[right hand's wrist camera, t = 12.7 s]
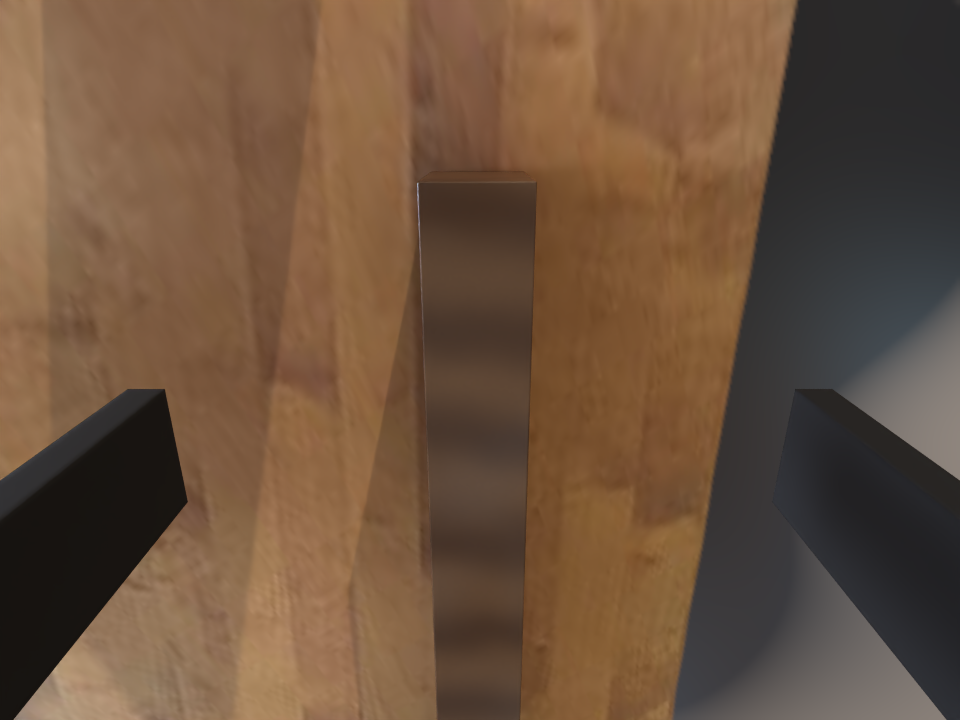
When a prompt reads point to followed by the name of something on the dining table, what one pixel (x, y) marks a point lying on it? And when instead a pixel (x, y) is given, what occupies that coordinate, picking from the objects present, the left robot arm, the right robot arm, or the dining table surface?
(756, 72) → the dining table surface
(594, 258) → the dining table surface
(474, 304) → the beam
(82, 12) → the dining table surface
